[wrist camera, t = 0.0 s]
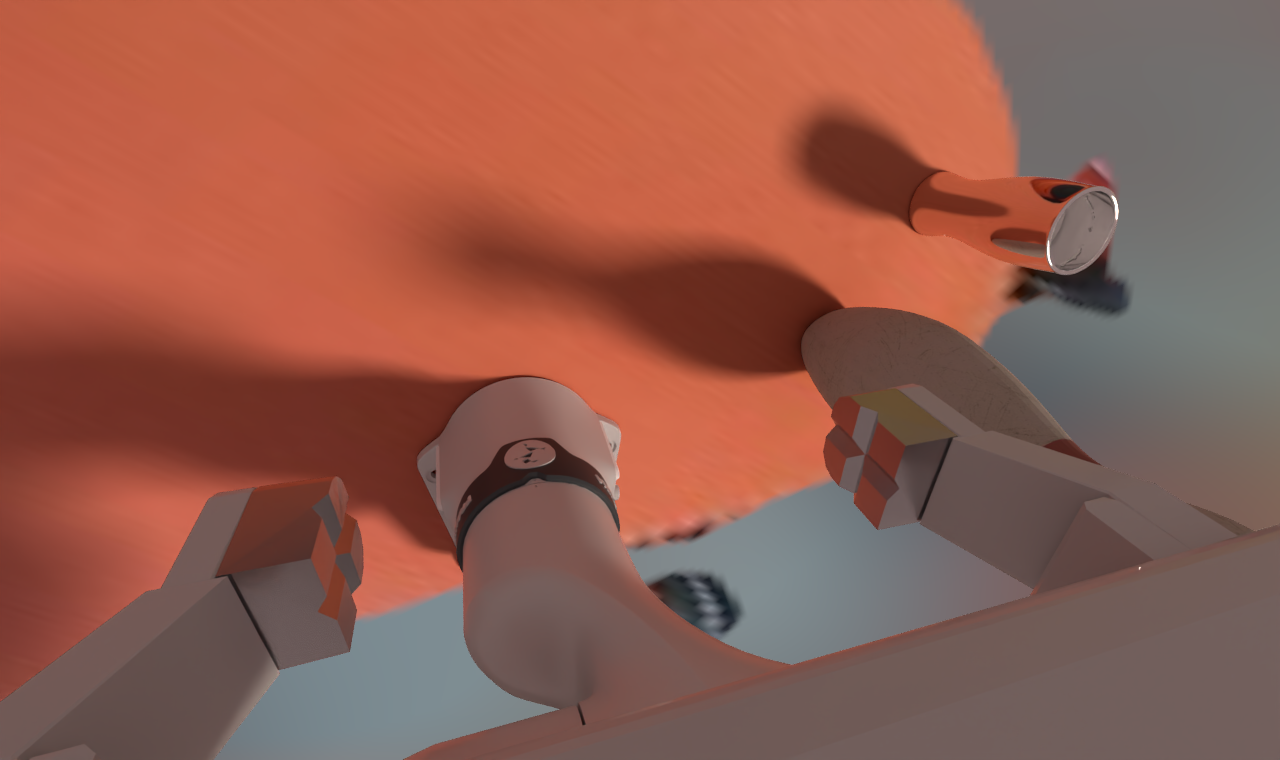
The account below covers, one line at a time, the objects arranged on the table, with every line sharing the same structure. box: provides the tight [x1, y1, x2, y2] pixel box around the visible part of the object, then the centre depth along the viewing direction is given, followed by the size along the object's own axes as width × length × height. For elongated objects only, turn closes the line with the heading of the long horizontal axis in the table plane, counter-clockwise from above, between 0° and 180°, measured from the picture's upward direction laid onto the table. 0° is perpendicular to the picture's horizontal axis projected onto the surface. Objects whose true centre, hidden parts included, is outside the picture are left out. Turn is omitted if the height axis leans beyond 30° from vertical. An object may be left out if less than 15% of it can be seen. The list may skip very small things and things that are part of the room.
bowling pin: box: [801, 307, 1253, 536], centre depth 41 cm, size 11×12×38 cm
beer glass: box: [909, 171, 1119, 275], centre depth 48 cm, size 7×7×15 cm
